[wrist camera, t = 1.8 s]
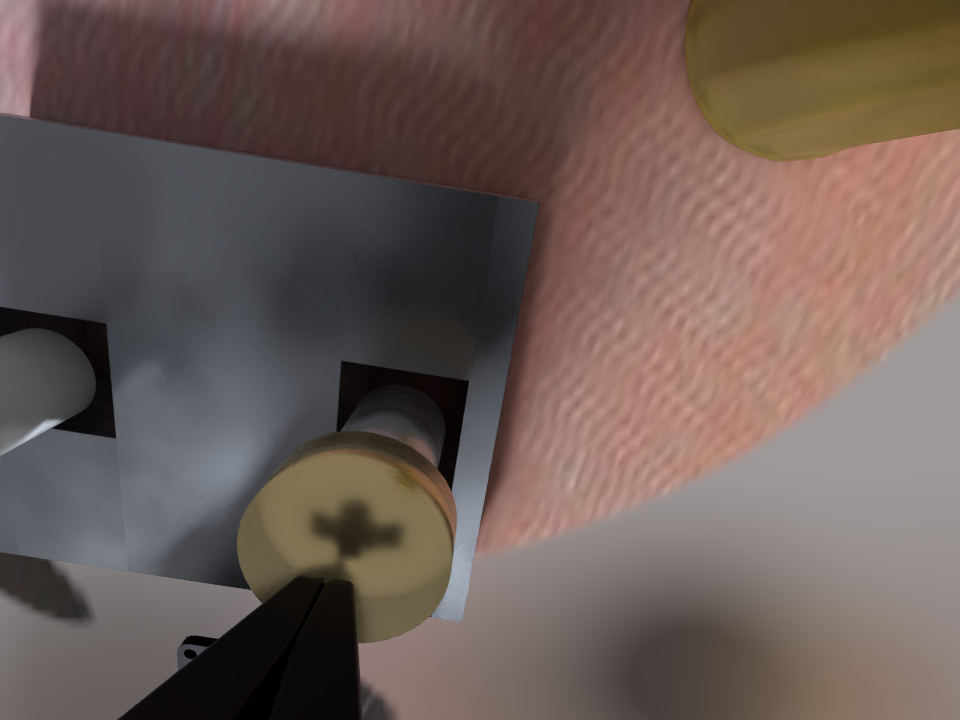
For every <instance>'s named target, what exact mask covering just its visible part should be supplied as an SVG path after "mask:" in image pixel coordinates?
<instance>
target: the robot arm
mask: <svg viewBox="0 0 960 720" xmlns="http://www.w3.org/2000/svg"><path fill="white" fill-rule="evenodd" d="M177 655H178V672H176V673H175V674H174V675H173V676H171V677H170V678H169V679H168V680H166V681H165V682H164V683H163V684H162V685H160V686H159V687H158V688H156V689H155V690H154V691H153V692H151V693H150V694H149V695H148V696H146V697H145V698H144V699H143V700H141V701H140V702H139V703H138V704H136V705H135V706H134V707H133V708H131V709H130V710H129V711H128V712H126V713H125V714H124V715H123V716H121V717H120V718H119V719H118V720H363V716H362V700H361V685H360V669H359V654H358V637H357V622H356V606H355V590H354V584H353V583H352V582H350V581H344V580H337V579H329V580H327V581H326V580H325V579H324V578H323V577H317V576H311V575H304V574H302V575H299V576H297V577H295V578H294V579H293V580H291V581H290V582H289V583H288V584H286V585H285V586H284V587H283V588H281V589H280V590H279V591H278V592H276V593H275V594H274V595H273V596H271V597H270V598H269V599H268V600H266V601H265V602H264V603H263V604H261V605H260V606H259V607H258V608H256V609H255V610H254V611H253V612H251V614H249V615H248V616H246V617H245V618H244V619H243V620H241V621H240V622H239V623H238V624H236V625H235V626H234V627H233V628H231V629H230V630H229V631H228V632H227V633H225V634H224V635H223V636H221V637H220V638H219V639H215V638H208V637H202V636H189V637H187V638H186V639H185V640H184V641H183V642H182V644H181V645H180V647H179V648H178V652H177Z"/></svg>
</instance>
